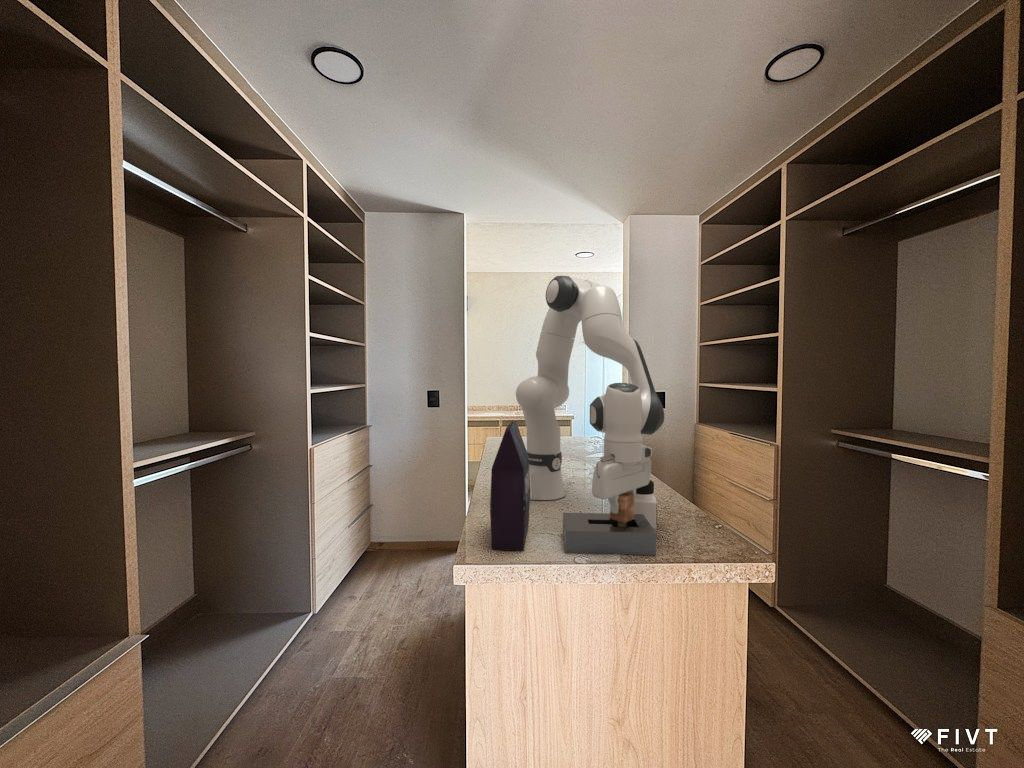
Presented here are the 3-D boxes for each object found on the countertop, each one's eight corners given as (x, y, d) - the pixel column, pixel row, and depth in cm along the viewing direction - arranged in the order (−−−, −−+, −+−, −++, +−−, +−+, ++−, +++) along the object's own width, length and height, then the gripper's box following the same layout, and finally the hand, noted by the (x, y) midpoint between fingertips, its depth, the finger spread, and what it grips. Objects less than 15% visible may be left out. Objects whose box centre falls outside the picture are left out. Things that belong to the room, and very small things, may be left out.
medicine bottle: (656, 529, 116) (657, 483, 116) (628, 527, 118) (629, 482, 117) (653, 520, 123) (654, 477, 123) (627, 518, 125) (627, 475, 124)
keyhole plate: (565, 552, 101) (565, 530, 101) (562, 531, 114) (562, 512, 114) (656, 555, 100) (656, 533, 100) (642, 534, 113) (643, 514, 113)
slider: (625, 547, 104) (625, 497, 104) (608, 542, 107) (609, 493, 107) (635, 542, 107) (635, 493, 107) (618, 537, 110) (619, 490, 110)
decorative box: (530, 527, 118) (530, 420, 117) (525, 552, 102) (525, 428, 101) (499, 525, 119) (499, 420, 118) (489, 550, 102) (489, 428, 102)
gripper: (609, 460, 97) (608, 523, 97) (656, 448, 111) (655, 504, 112) (585, 456, 101) (584, 516, 102) (633, 445, 116) (632, 498, 116)
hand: (622, 510), depth 107 cm, fingers closed on slider, 4 cm apart
